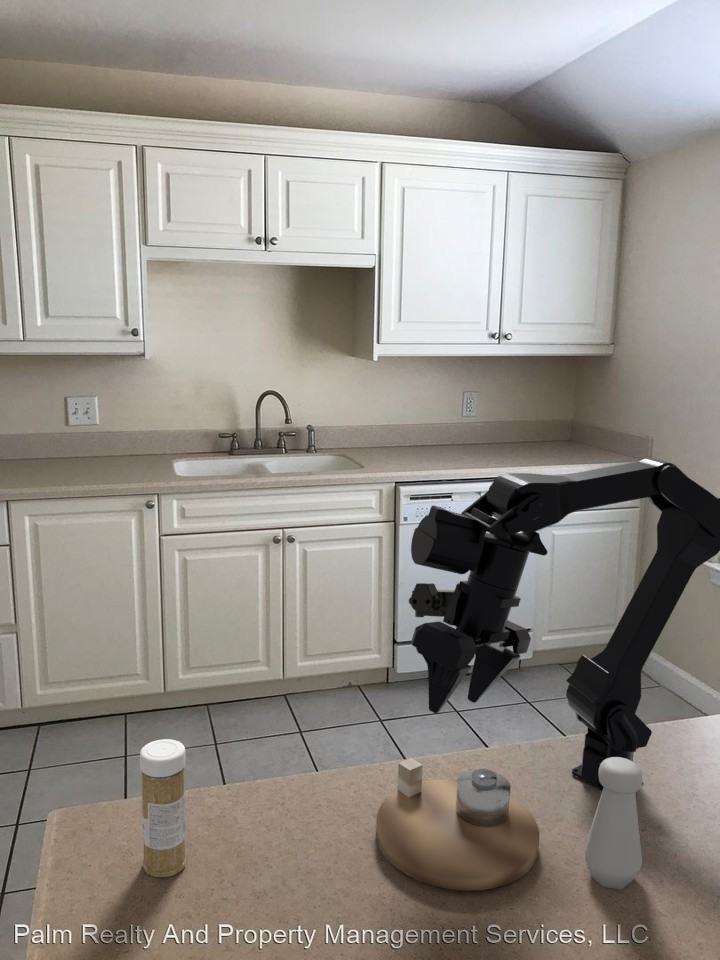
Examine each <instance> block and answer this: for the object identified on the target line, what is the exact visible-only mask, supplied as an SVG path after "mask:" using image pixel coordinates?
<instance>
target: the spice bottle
mask: <svg viewBox="0 0 720 960" xmlns="http://www.w3.org/2000/svg"><path fill="white" fill-rule="evenodd" d="M140 749H141V750H140V752H139V768H140V771H141V781H142V783H141V786H142V787H141V791H142V792H141V796H142V797H141V798H142V801H141V802H142V803H141V804H142V805H141V811H142V812H141V813H142V814H141V818H142V820H141V821H142V824H141V825H142V842H143V861H142V866H143V867H142V868H143V870H144V872H146V874H147V875H149V876H152V877H154V878H155V877H156V878H168V877H169V878H170V877H172V876H174V875H176V874H178V873H180V872H181V871H182V870H183V869H184V868H185V866H186V864H187V856H186V826H187V825H186V789H185V767H186V762H187V761H186V759H187V758H186V747H185V745H184V744H183V743H182V742H181V741H179V740H175V739H171V738H166V739H165V738H164V739H158V740H154V741H153V740H152V741H150V742H148V743H147V744H145V745H144V746H142V748H140Z"/></svg>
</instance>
